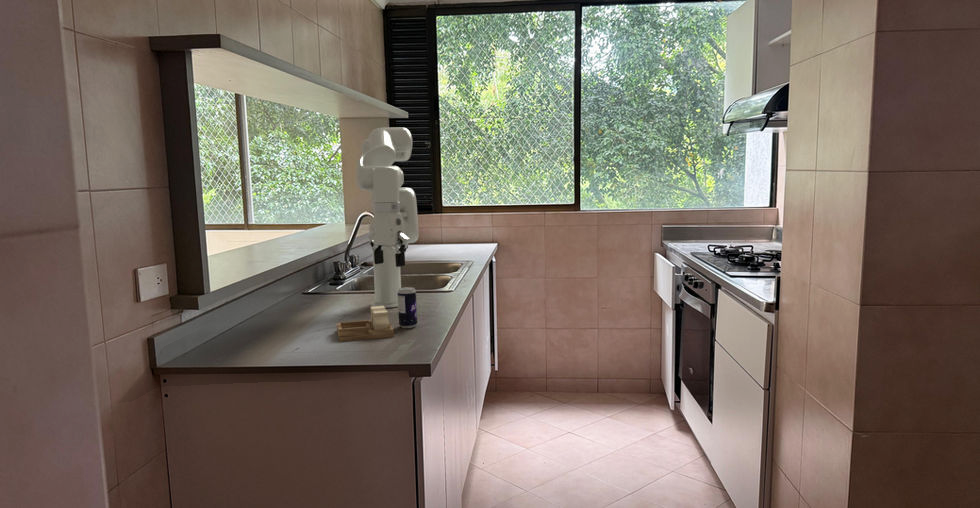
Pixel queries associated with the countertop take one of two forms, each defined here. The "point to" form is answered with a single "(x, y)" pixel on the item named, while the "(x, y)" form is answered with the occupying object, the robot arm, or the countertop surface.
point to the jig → (361, 331)
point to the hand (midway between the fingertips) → (389, 264)
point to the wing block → (379, 318)
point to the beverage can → (407, 307)
